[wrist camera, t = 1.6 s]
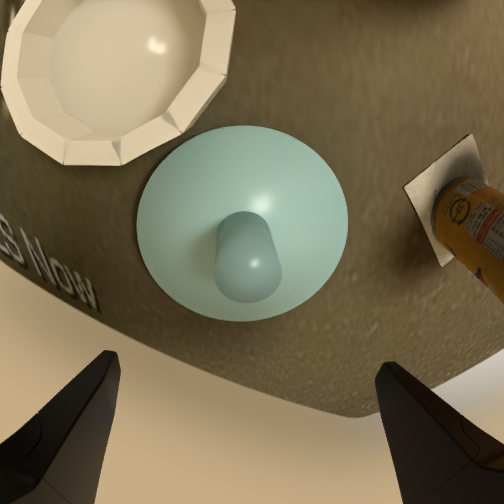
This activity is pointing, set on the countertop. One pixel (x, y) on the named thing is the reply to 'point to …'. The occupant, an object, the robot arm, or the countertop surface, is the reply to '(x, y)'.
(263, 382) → the countertop surface
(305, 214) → the lid
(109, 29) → the bowl
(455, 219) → the condiment
